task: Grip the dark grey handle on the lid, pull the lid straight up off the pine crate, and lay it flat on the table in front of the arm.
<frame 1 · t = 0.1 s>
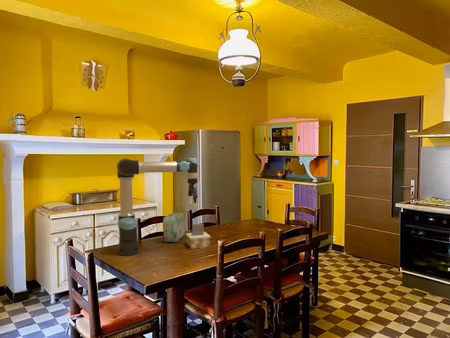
hand: (192, 205, 270), 28 cm above the table, tool pointing down, fingers open, 13 cm apart
lid: (198, 237, 260), point 6 cm above the table, touching crate
crate: (198, 245, 260), on the table
lunch box: (174, 239, 277), on the table
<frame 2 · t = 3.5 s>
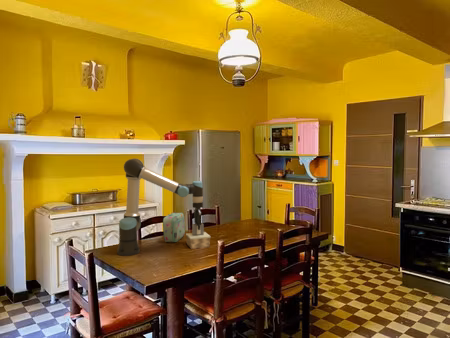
hand: (197, 233, 260), 9 cm above the table, tool pointing down, fingers closed on lid, 3 cm apart
lid: (198, 237, 260), point 6 cm above the table, touching crate, gripper
everything else where it was.
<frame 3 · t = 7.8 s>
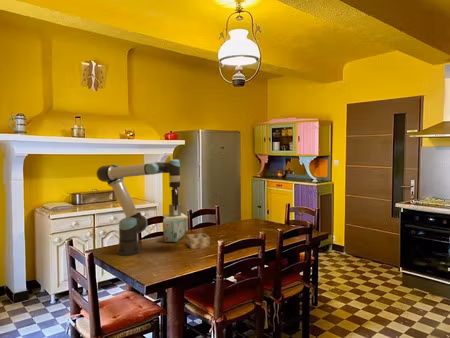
hand: (175, 214, 248), 25 cm above the table, tool pointing down, fingers closed on lid, 3 cm apart
lid: (175, 218, 248), point 22 cm above the table, touching gripper
everything else where it was.
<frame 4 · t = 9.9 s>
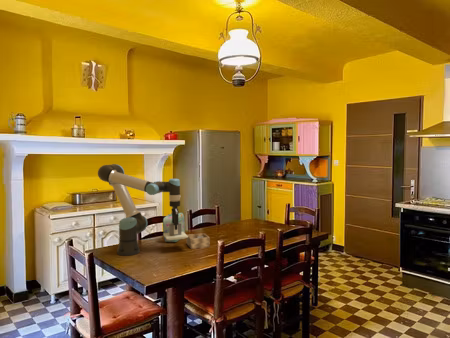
hand: (175, 233, 249), 12 cm above the table, tool pointing down, fingers closed on lid, 3 cm apart
lid: (175, 237, 249), point 9 cm above the table, touching gripper
everything else where it was.
when the fingers open (5 cm above the table, at t = 12.0 s): lid drops 1 cm, on the table.
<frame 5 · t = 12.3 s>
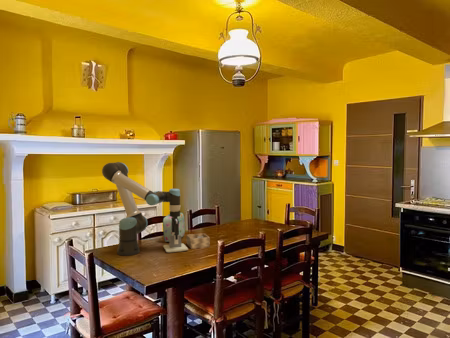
hand: (175, 242, 249), 5 cm above the table, tool pointing down, fingers open, 7 cm apart
lid: (175, 249, 249), on the table
everything else where it was.
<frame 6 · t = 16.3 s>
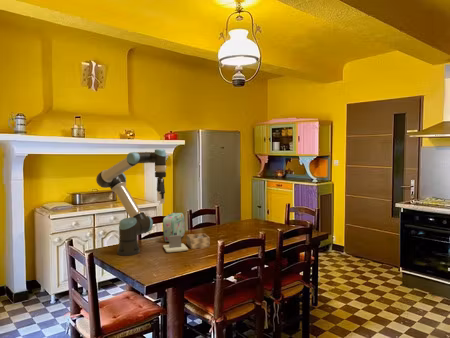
hand: (160, 202, 243), 35 cm above the table, tool pointing down, fingers open, 13 cm apart
nothing on the table moved.
at the end: lid inside the target area (0.0 cm from its centre), on the table; lid tilted 0°; the gripper is holding nothing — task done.
